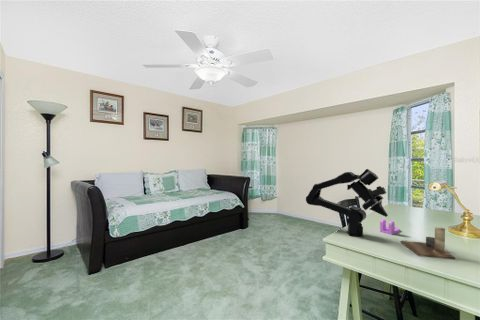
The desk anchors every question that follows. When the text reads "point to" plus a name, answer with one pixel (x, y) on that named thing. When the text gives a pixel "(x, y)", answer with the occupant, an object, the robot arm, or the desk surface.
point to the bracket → (390, 229)
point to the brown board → (425, 250)
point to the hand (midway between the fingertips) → (387, 216)
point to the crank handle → (437, 240)
